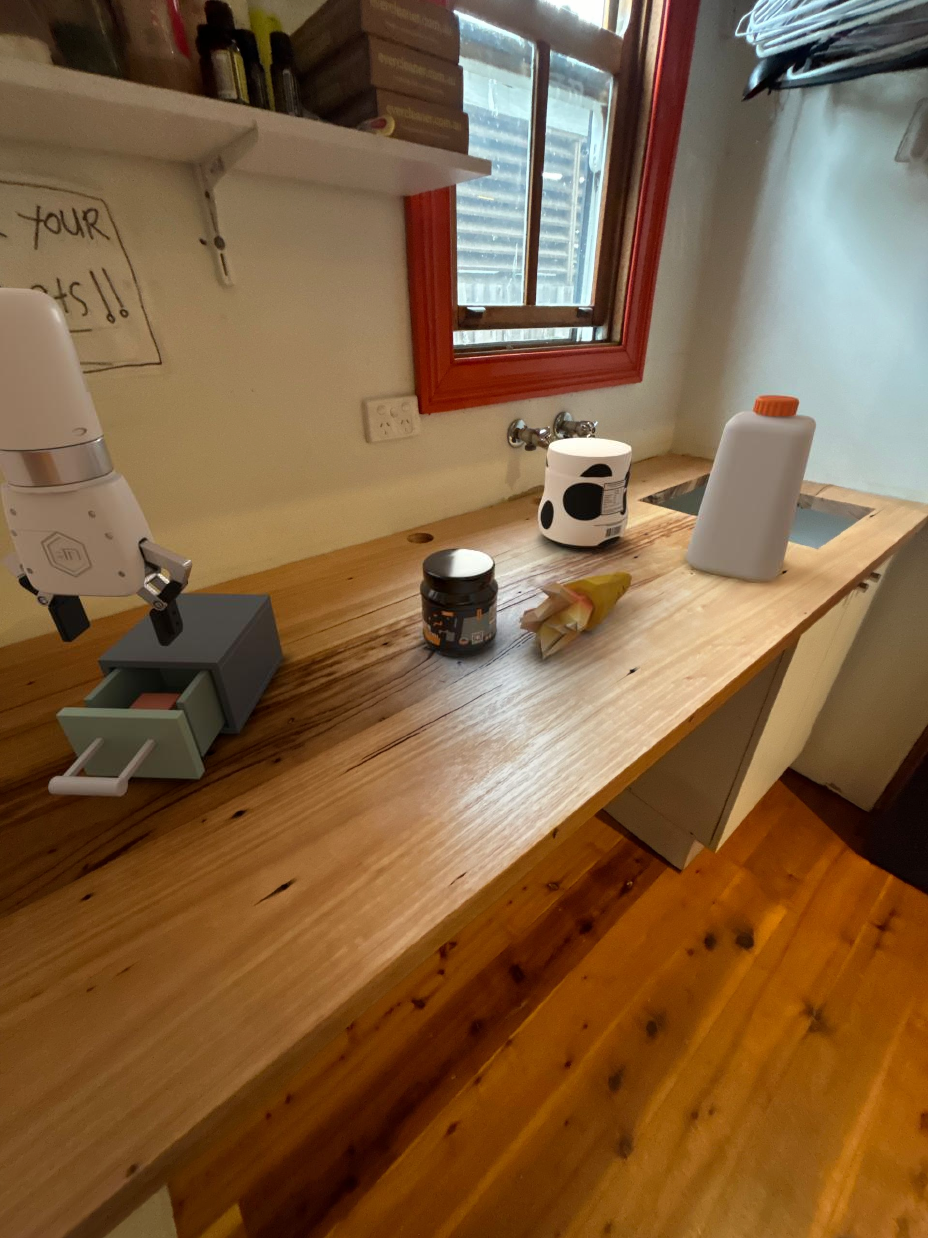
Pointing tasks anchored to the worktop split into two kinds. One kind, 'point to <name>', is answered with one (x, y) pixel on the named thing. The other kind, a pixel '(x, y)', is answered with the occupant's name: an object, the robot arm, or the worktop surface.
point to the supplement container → (459, 601)
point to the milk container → (585, 492)
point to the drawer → (140, 730)
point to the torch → (573, 609)
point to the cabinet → (212, 648)
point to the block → (156, 701)
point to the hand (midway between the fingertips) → (125, 636)
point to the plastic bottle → (753, 492)
